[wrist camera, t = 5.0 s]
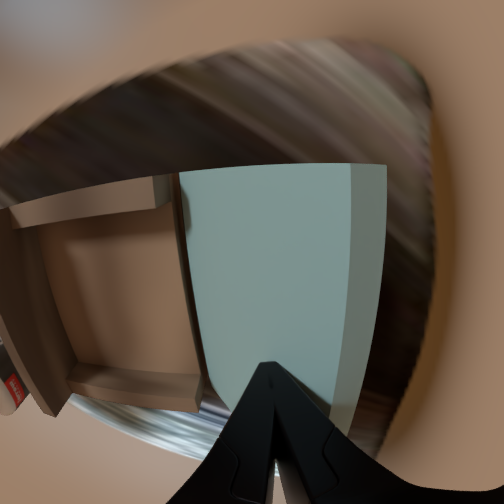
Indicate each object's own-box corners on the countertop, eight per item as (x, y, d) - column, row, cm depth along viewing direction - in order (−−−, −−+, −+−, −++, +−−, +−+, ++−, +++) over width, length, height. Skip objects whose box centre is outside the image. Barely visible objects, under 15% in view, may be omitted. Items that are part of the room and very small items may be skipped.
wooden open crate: (81, 360, 17) (43, 412, 11) (35, 199, 13) (-34, 221, 7) (207, 372, 16) (191, 448, 11) (178, 172, 13) (120, 180, 7)
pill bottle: (72, 358, 17) (7, 447, 7) (37, 363, 17) (-20, 432, 8) (35, 293, 15) (-54, 367, 6) (5, 307, 16) (-66, 367, 6)
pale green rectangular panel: (211, 385, 15) (308, 495, 8) (179, 172, 12) (350, 163, 4) (228, 378, 16) (330, 480, 8) (204, 169, 12) (386, 165, 5)
